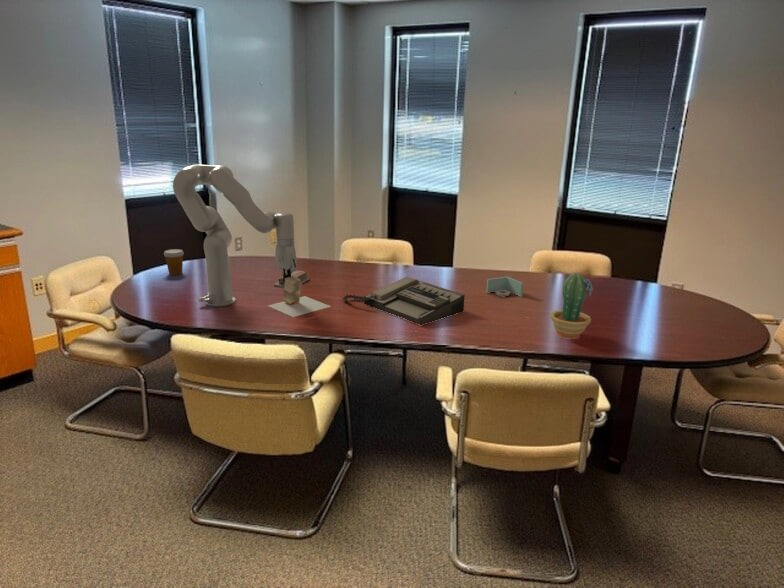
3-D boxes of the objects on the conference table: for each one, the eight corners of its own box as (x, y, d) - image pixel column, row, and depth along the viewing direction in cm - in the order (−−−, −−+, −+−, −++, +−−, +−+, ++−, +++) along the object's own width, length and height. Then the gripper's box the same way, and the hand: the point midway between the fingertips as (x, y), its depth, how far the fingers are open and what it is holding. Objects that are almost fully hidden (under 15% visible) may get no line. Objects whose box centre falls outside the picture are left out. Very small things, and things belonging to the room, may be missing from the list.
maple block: (289, 305, 244) (291, 282, 239) (283, 300, 247) (285, 278, 242) (299, 302, 247) (301, 280, 243) (292, 298, 250) (294, 275, 246)
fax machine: (337, 303, 251) (336, 282, 248) (393, 288, 274) (393, 269, 271) (406, 332, 220) (407, 309, 217) (463, 312, 243) (464, 292, 240)
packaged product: (293, 268, 286) (310, 271, 283) (293, 277, 288) (310, 280, 284) (273, 277, 270) (290, 280, 267) (273, 287, 272) (291, 290, 268)
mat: (293, 318, 230) (293, 317, 230) (267, 306, 243) (267, 305, 243) (331, 307, 244) (331, 306, 244) (304, 297, 257) (304, 296, 256)
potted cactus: (572, 346, 209) (580, 282, 201) (539, 333, 221) (546, 272, 213) (597, 337, 217) (606, 276, 210) (564, 325, 229) (571, 266, 221)
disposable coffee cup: (166, 271, 291) (164, 249, 288) (185, 270, 294) (183, 248, 290) (165, 276, 283) (162, 253, 279) (185, 275, 285) (183, 252, 282)
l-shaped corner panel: (486, 294, 269) (487, 279, 266) (505, 291, 274) (507, 276, 272) (501, 301, 259) (503, 286, 256) (522, 298, 264) (523, 283, 262)
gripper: (268, 240, 243) (270, 280, 249) (288, 246, 233) (290, 288, 239) (282, 237, 248) (284, 277, 254) (303, 243, 238) (304, 284, 244)
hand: (287, 282), depth 246 cm, fingers closed
